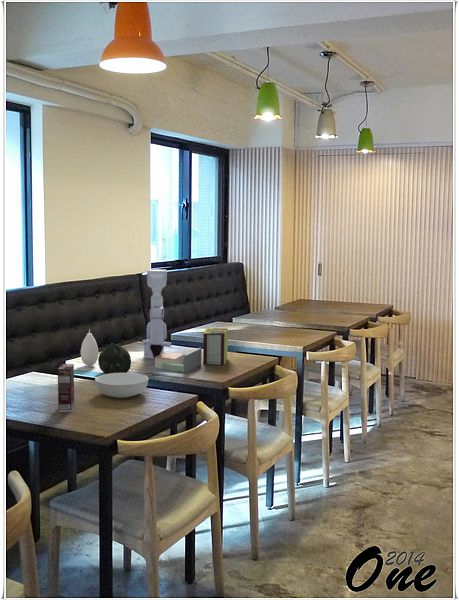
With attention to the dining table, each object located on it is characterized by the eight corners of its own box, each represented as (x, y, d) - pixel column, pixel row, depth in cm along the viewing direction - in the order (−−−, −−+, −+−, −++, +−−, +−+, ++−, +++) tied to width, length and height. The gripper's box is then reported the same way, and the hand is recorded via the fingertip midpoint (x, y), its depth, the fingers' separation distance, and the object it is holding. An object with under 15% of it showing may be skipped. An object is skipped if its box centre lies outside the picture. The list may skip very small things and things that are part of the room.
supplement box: (61, 405, 245) (61, 363, 243) (74, 405, 245) (74, 363, 243) (57, 412, 236) (57, 369, 234) (71, 412, 237) (70, 369, 235)
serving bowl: (158, 392, 266) (158, 375, 266) (129, 405, 247) (129, 387, 247) (114, 385, 275) (114, 369, 274) (84, 398, 256) (83, 380, 255)
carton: (154, 368, 309) (154, 357, 308) (164, 362, 320) (164, 352, 320) (175, 370, 306) (175, 359, 305) (183, 364, 318) (184, 354, 317)
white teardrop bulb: (88, 368, 304) (88, 330, 302) (77, 366, 308) (77, 328, 306) (101, 366, 310) (101, 328, 308) (90, 363, 315) (90, 326, 312)
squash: (130, 356, 306) (109, 334, 300) (141, 364, 293) (120, 341, 287) (108, 378, 303) (86, 356, 296) (118, 387, 290) (96, 364, 283)
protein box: (227, 358, 332) (228, 328, 330) (224, 365, 316) (224, 333, 314) (206, 357, 333) (207, 327, 331) (202, 364, 317) (203, 332, 315)
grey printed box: (162, 369, 304) (162, 352, 304) (178, 362, 321) (178, 345, 320) (186, 372, 300) (186, 355, 299) (201, 364, 317) (201, 348, 316)
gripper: (139, 332, 312) (139, 360, 314) (166, 335, 307) (166, 363, 309) (145, 330, 319) (145, 357, 320) (173, 332, 314) (173, 360, 315)
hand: (156, 360), depth 315 cm, fingers closed
